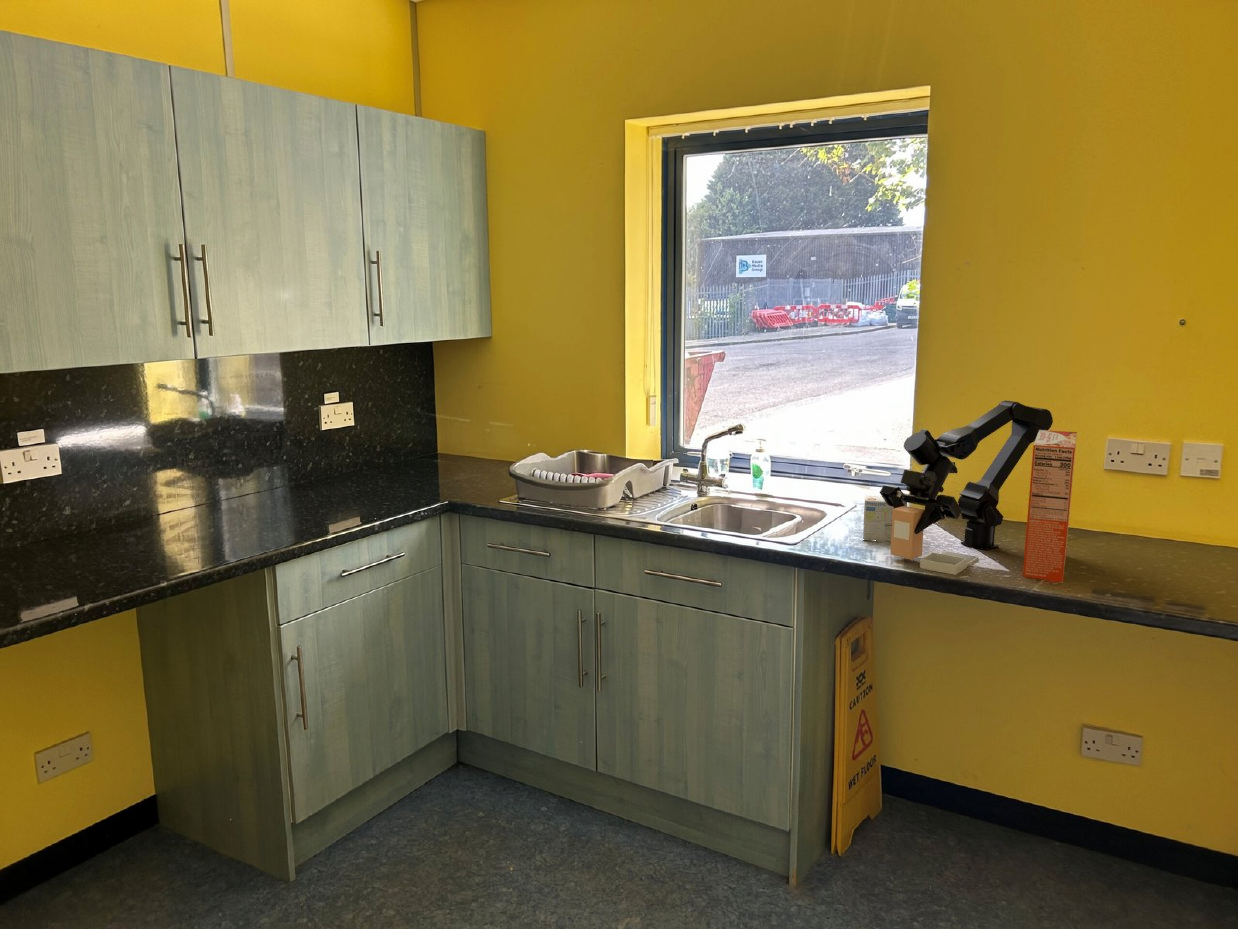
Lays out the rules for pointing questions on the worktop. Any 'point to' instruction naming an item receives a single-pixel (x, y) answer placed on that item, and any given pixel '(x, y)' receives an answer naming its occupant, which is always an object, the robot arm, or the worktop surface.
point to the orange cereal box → (1049, 505)
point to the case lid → (969, 558)
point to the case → (943, 563)
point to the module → (906, 532)
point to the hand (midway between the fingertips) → (904, 530)
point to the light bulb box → (877, 519)
